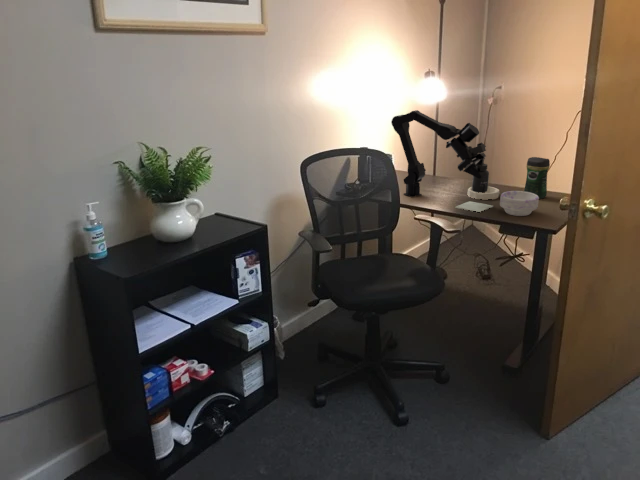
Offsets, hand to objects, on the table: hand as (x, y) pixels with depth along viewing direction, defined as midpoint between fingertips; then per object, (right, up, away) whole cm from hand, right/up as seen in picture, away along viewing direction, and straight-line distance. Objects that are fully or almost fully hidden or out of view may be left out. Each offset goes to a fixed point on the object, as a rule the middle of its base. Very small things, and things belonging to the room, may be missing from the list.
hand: (483, 176), depth 231 cm
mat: (-4, -13, +2) cm, 14 cm away
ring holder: (+6, -7, +19) cm, 21 cm away
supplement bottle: (-1, -6, +3) cm, 7 cm away
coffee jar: (+29, -8, +15) cm, 33 cm away
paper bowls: (+12, -17, -8) cm, 22 cm away
